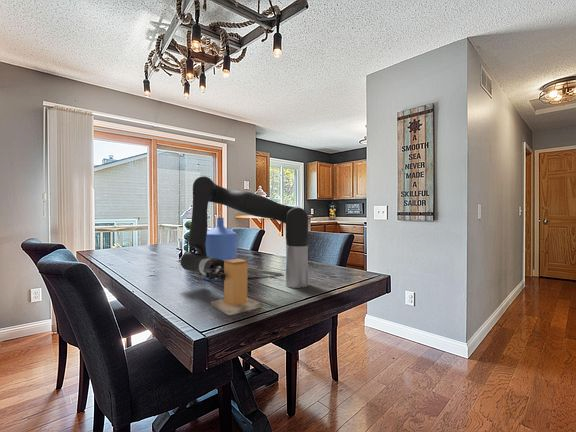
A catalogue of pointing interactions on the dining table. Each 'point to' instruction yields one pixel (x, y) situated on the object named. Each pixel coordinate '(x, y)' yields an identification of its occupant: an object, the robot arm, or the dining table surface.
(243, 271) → the orange tall block
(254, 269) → the caliper
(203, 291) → the dining table surface
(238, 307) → the stub plate
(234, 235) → the water jug
